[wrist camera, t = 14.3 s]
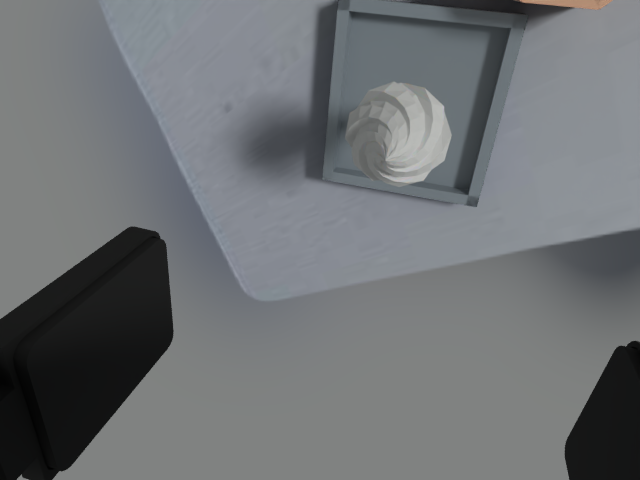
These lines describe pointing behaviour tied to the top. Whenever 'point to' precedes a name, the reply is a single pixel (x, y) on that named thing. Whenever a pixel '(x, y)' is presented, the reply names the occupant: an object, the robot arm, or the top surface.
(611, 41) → the top surface
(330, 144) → the slate tray
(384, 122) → the ice cream cone
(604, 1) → the holder cup
